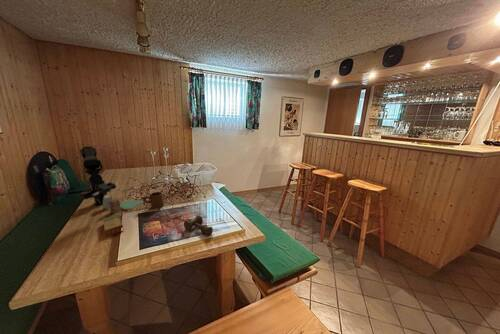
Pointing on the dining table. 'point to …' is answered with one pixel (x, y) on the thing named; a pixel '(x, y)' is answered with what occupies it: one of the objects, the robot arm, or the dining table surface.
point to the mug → (155, 199)
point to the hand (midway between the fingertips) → (101, 203)
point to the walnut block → (114, 205)
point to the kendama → (198, 225)
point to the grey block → (107, 201)
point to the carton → (112, 225)
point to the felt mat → (130, 204)
